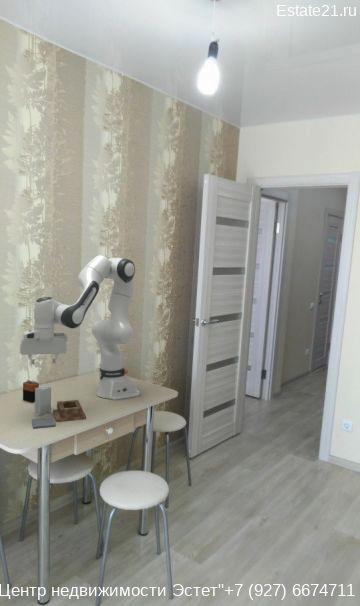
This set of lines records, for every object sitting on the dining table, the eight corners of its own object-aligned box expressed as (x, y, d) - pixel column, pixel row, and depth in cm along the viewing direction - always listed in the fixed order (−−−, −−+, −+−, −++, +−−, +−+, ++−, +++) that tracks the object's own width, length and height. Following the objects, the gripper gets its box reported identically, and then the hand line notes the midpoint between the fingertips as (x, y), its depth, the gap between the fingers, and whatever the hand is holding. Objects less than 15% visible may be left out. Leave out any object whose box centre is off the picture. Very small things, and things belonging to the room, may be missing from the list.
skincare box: (45, 410, 210) (46, 385, 209) (51, 412, 207) (51, 387, 206) (34, 413, 206) (34, 387, 204) (39, 416, 203) (40, 389, 201)
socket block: (81, 409, 213) (81, 399, 213) (86, 419, 202) (86, 408, 201) (52, 411, 209) (53, 401, 208) (56, 422, 197) (56, 410, 196)
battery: (32, 403, 219) (32, 383, 218) (22, 400, 222) (22, 380, 221) (39, 400, 223) (39, 381, 222) (28, 398, 226) (29, 378, 225)
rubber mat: (52, 418, 200) (53, 417, 200) (55, 426, 192) (55, 424, 192) (31, 420, 196) (31, 419, 196) (33, 428, 188) (33, 426, 188)
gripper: (66, 331, 209) (65, 360, 211) (19, 332, 201) (19, 362, 203) (68, 334, 203) (67, 364, 205) (20, 335, 196) (20, 366, 197)
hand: (43, 363), depth 204 cm, fingers open, 8 cm apart
